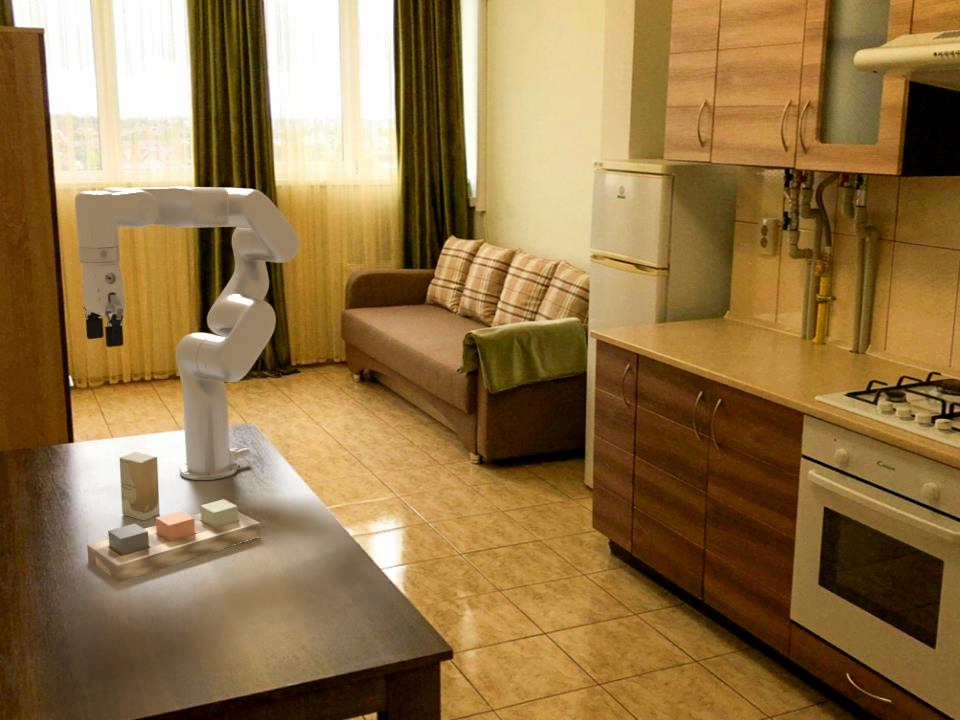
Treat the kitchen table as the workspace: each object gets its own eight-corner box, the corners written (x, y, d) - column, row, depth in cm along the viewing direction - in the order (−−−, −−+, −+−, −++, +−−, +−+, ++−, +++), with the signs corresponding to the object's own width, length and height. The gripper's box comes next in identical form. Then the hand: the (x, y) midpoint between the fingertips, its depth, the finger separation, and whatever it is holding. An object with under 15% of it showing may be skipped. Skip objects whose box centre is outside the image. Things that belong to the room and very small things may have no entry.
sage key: (224, 517, 197) (223, 499, 196) (238, 525, 193) (237, 506, 192) (201, 524, 193) (200, 505, 193) (214, 532, 190) (213, 512, 189)
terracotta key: (181, 530, 191) (180, 510, 190) (195, 537, 187) (194, 518, 186) (156, 537, 187) (155, 517, 186) (170, 545, 184) (168, 525, 183)
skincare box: (121, 515, 203) (117, 457, 200) (138, 508, 207) (134, 450, 204) (145, 521, 200) (141, 462, 198) (161, 514, 204) (157, 456, 201)
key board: (227, 520, 201) (226, 505, 201) (260, 537, 193) (259, 522, 192) (88, 560, 182) (87, 544, 182) (118, 581, 174) (117, 565, 173)
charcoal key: (136, 543, 185) (134, 523, 184) (149, 551, 181) (148, 531, 180) (109, 550, 181) (108, 530, 180) (122, 559, 178) (120, 539, 177)
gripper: (136, 258, 194) (141, 347, 198) (101, 250, 207) (106, 333, 210) (97, 261, 189) (103, 351, 193) (63, 252, 202) (69, 337, 205)
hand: (105, 342), depth 202 cm, fingers open, 9 cm apart
